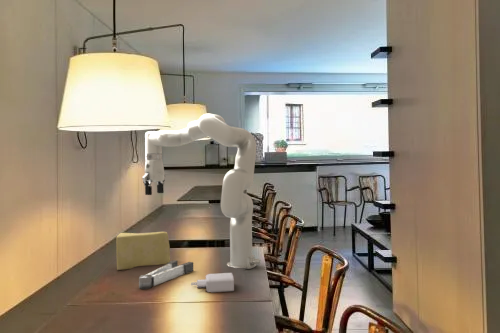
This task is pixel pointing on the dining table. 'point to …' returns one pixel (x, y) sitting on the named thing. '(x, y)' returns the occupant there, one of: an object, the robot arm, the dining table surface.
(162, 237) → the cheese
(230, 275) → the charger
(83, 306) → the dining table surface
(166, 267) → the tongs leg
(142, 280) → the tongs hinge pin
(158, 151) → the robot arm
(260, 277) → the dining table surface
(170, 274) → the tongs leg
